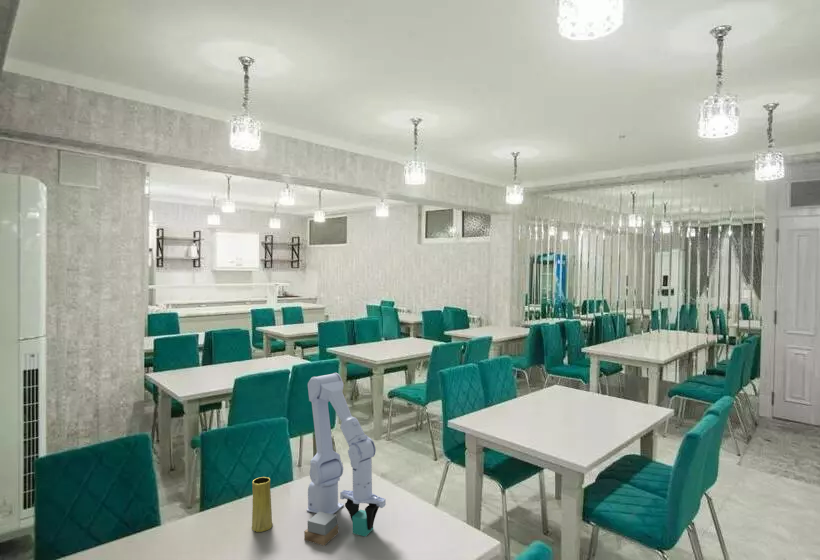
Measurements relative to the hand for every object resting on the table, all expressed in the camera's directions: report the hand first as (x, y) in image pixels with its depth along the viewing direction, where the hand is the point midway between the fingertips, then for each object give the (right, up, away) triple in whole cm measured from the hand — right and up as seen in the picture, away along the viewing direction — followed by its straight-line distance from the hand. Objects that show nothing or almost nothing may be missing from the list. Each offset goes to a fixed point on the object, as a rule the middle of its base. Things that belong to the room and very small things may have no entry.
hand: (362, 526), depth 139 cm
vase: (-31, -2, +3) cm, 31 cm away
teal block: (0, -1, 0) cm, 1 cm away
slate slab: (-12, +1, -3) cm, 12 cm away
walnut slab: (-12, -2, -2) cm, 12 cm away
